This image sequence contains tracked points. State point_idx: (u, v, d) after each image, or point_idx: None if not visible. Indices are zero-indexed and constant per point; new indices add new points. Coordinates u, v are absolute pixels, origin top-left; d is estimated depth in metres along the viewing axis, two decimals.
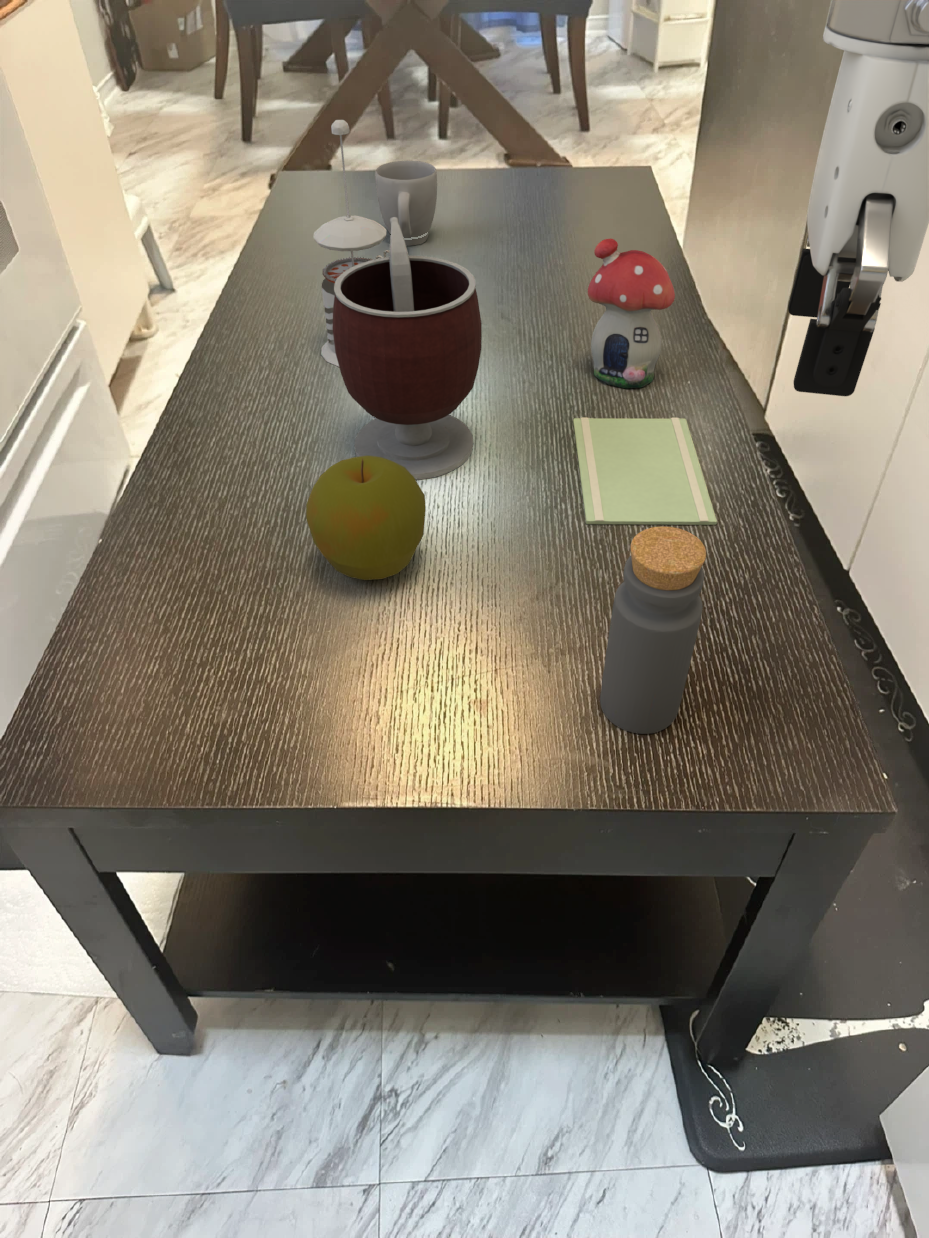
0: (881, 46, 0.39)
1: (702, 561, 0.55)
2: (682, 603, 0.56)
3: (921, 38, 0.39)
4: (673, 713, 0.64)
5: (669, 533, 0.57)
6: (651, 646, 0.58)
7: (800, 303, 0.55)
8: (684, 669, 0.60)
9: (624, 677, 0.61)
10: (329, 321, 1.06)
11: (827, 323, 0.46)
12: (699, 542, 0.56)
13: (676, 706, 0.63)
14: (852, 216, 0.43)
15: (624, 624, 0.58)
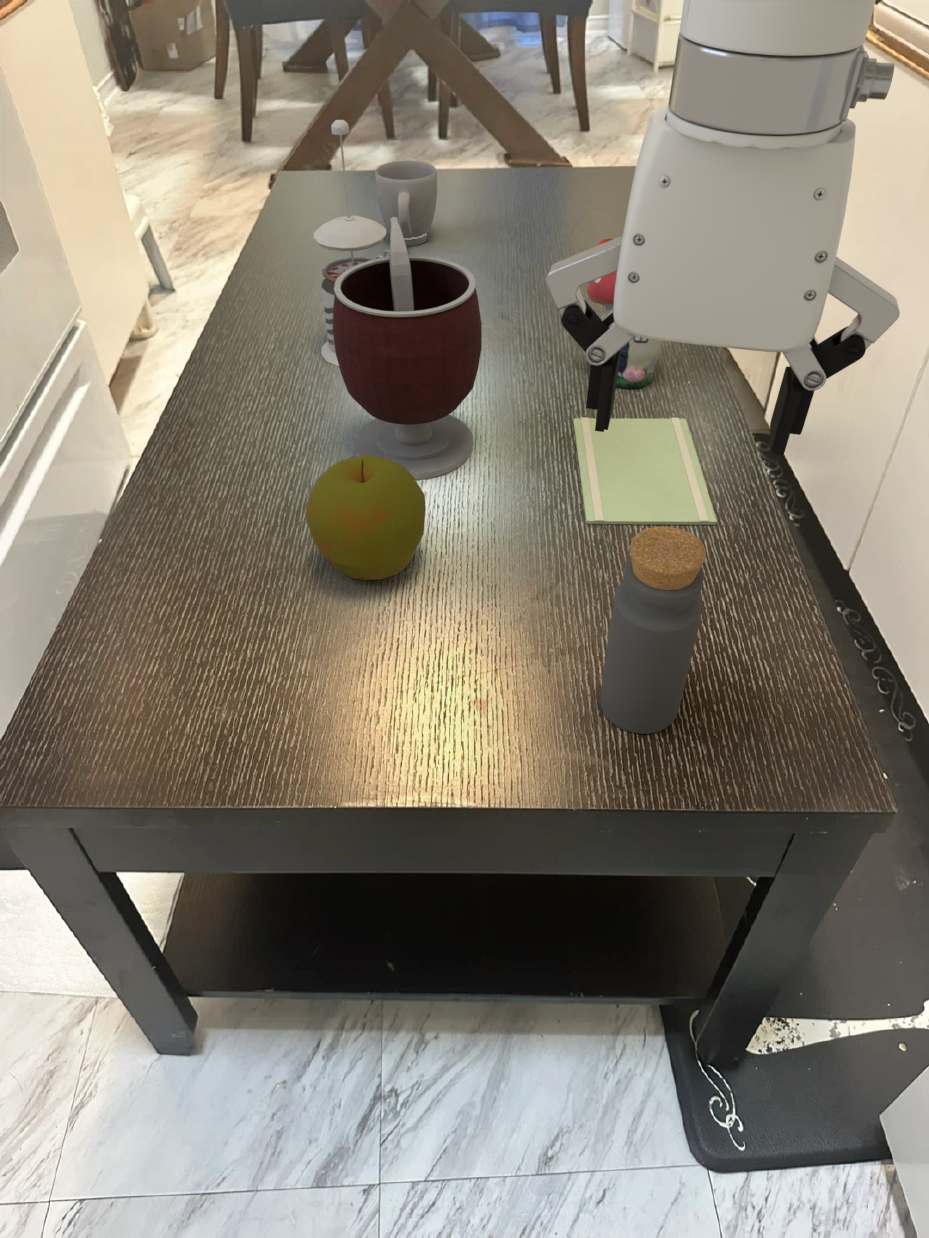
0: (836, 128, 0.37)
1: (702, 561, 0.55)
2: (682, 603, 0.56)
3: None
4: (673, 713, 0.64)
5: (669, 533, 0.57)
6: (651, 646, 0.58)
7: (609, 415, 0.50)
8: (684, 669, 0.60)
9: (623, 677, 0.61)
10: (329, 321, 1.06)
11: None
12: (699, 542, 0.56)
13: (676, 706, 0.63)
14: (829, 283, 0.42)
15: (624, 624, 0.58)
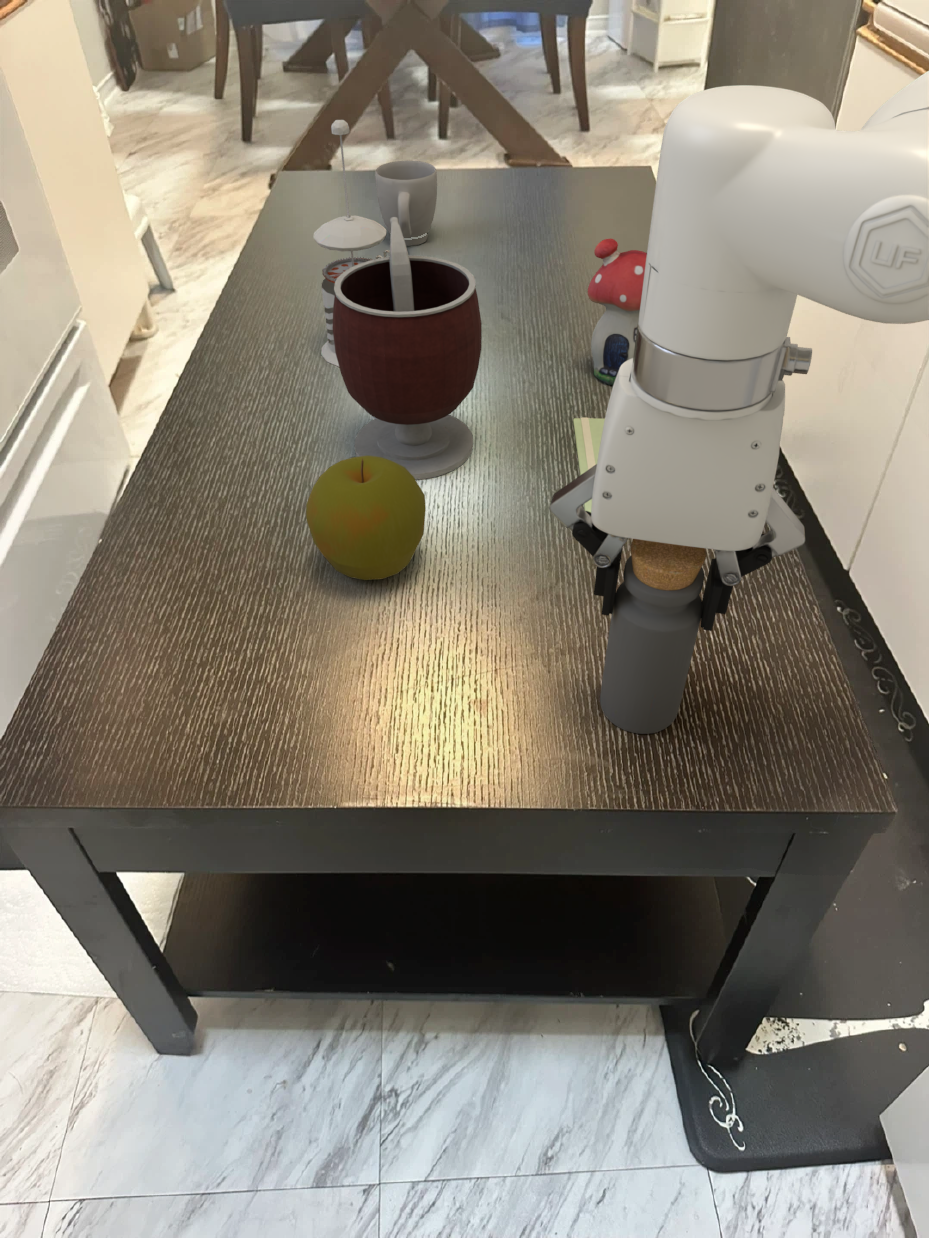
0: (767, 398, 0.46)
1: (702, 561, 0.55)
2: (682, 603, 0.56)
3: None
4: (673, 713, 0.64)
5: None
6: (651, 646, 0.58)
7: None
8: (684, 669, 0.60)
9: (624, 677, 0.61)
10: (329, 321, 1.06)
11: None
12: None
13: (676, 706, 0.63)
14: (769, 502, 0.51)
15: (624, 624, 0.58)
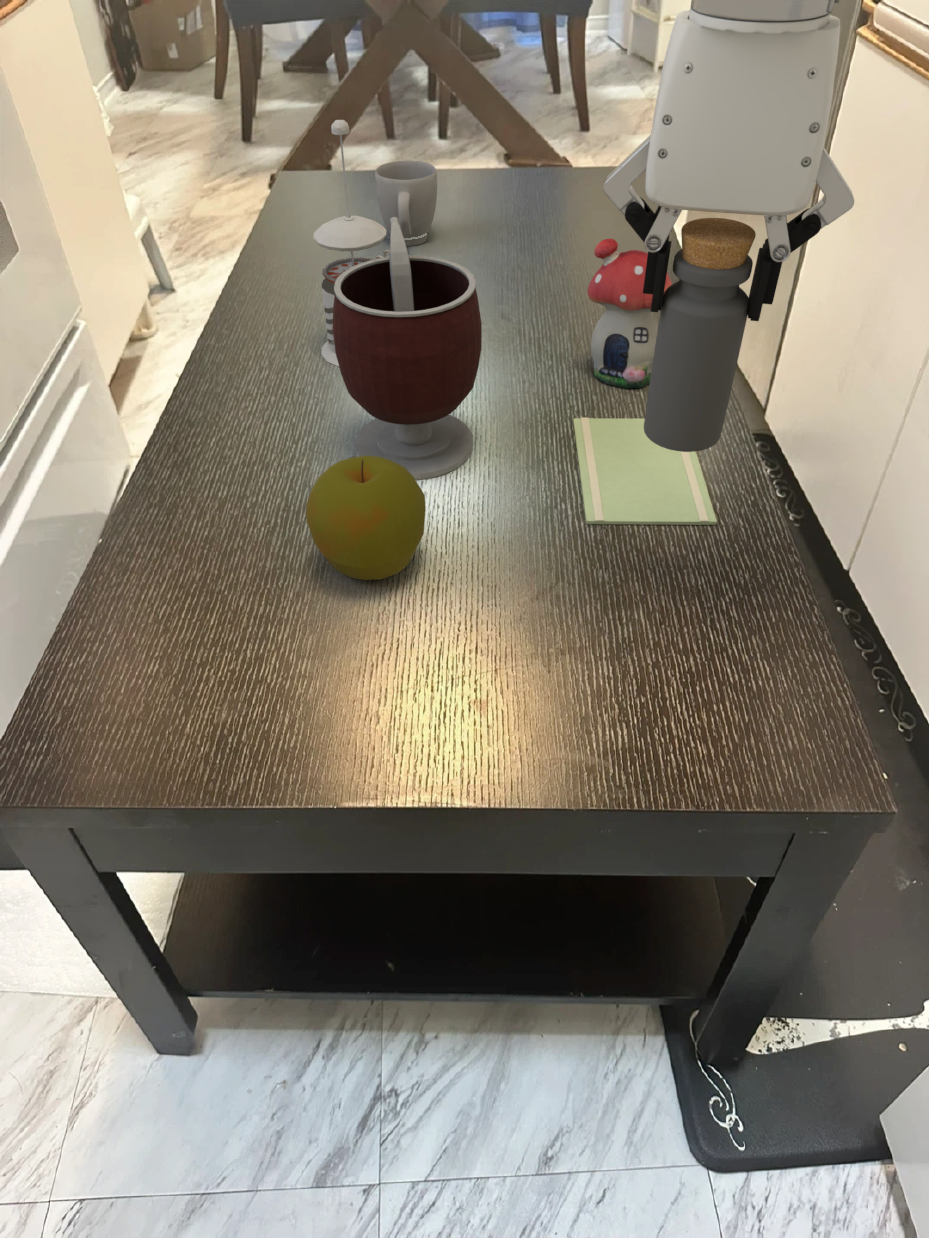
0: (824, 18, 0.47)
1: (752, 238, 0.56)
2: (732, 284, 0.57)
3: None
4: (717, 430, 0.65)
5: (718, 221, 0.58)
6: (700, 337, 0.59)
7: None
8: (730, 372, 0.62)
9: (670, 384, 0.62)
10: (329, 321, 1.06)
11: None
12: (748, 226, 0.58)
13: (720, 422, 0.65)
14: (822, 153, 0.52)
15: (673, 317, 0.59)
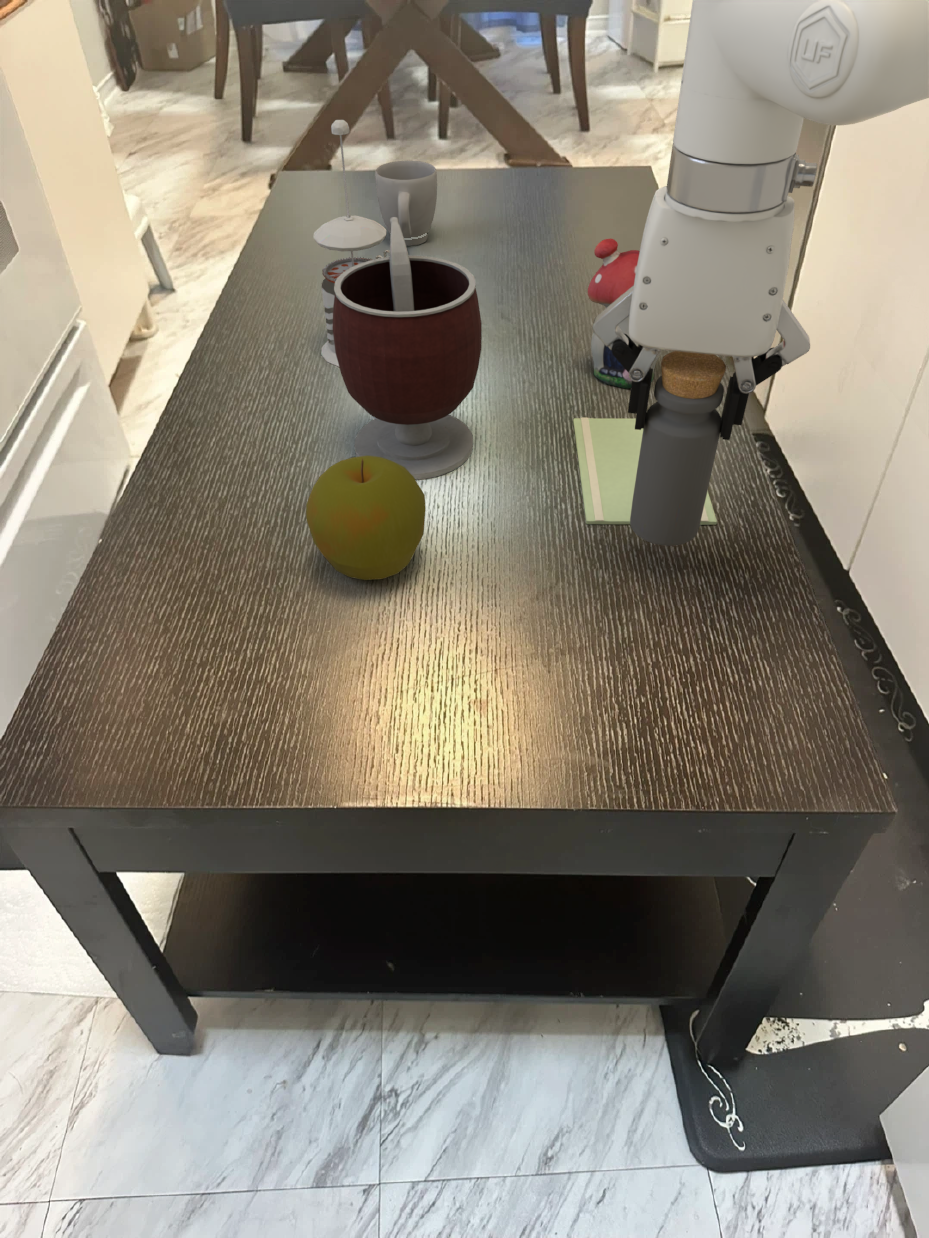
0: (779, 206, 0.55)
1: (723, 372, 0.64)
2: (705, 410, 0.65)
3: None
4: (695, 527, 0.73)
5: (694, 353, 0.66)
6: (677, 454, 0.67)
7: (645, 418, 0.68)
8: (705, 480, 0.70)
9: (653, 489, 0.71)
10: (329, 321, 1.06)
11: None
12: (720, 359, 0.66)
13: (697, 520, 0.73)
14: (781, 309, 0.60)
15: (654, 435, 0.68)
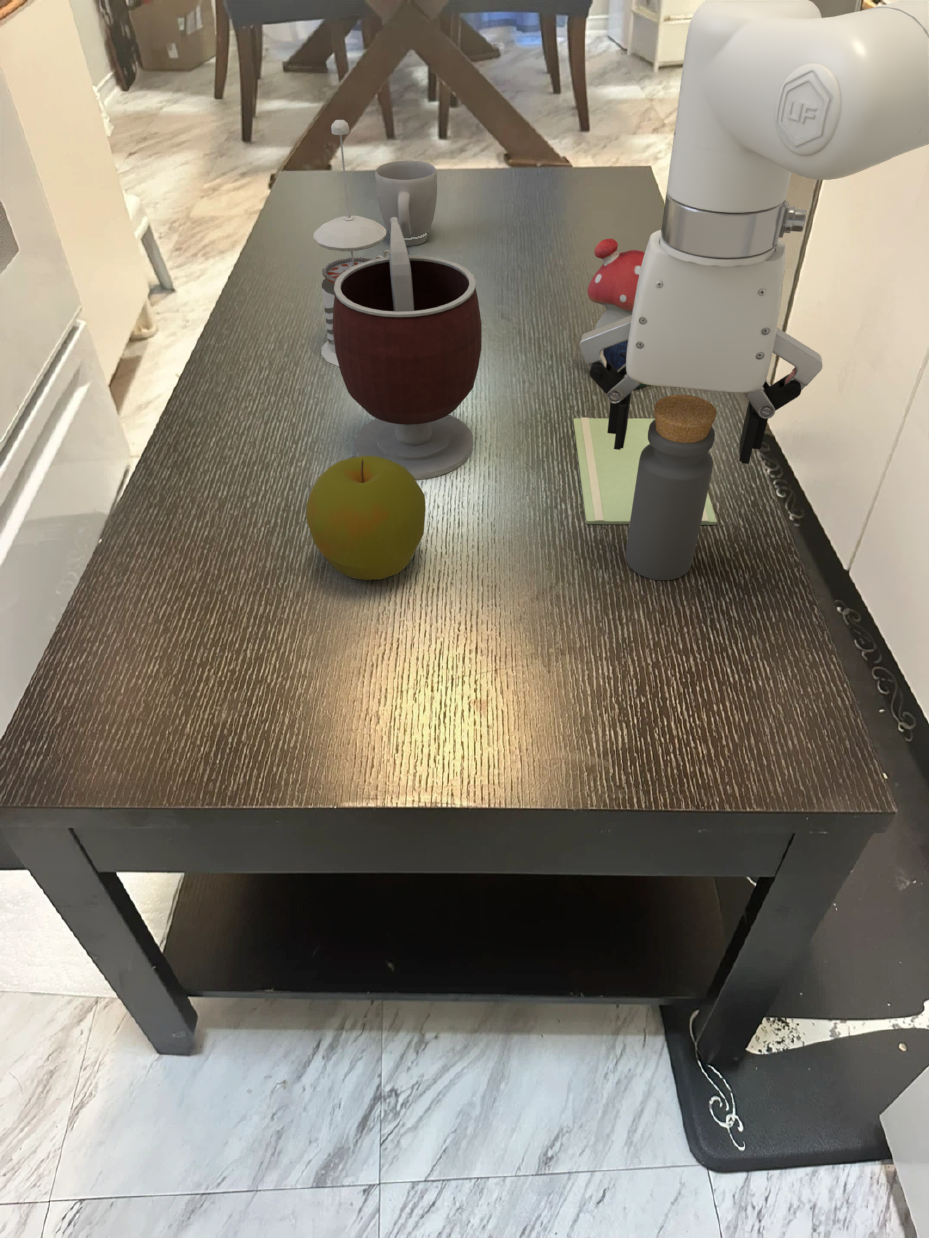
0: (770, 251, 0.57)
1: (713, 418, 0.67)
2: (697, 454, 0.68)
3: None
4: (688, 562, 0.76)
5: (686, 399, 0.69)
6: (670, 495, 0.70)
7: (624, 438, 0.69)
8: (697, 519, 0.73)
9: (647, 527, 0.73)
10: (329, 321, 1.06)
11: None
12: (711, 405, 0.68)
13: (690, 556, 0.75)
14: (773, 347, 0.62)
15: (648, 477, 0.70)
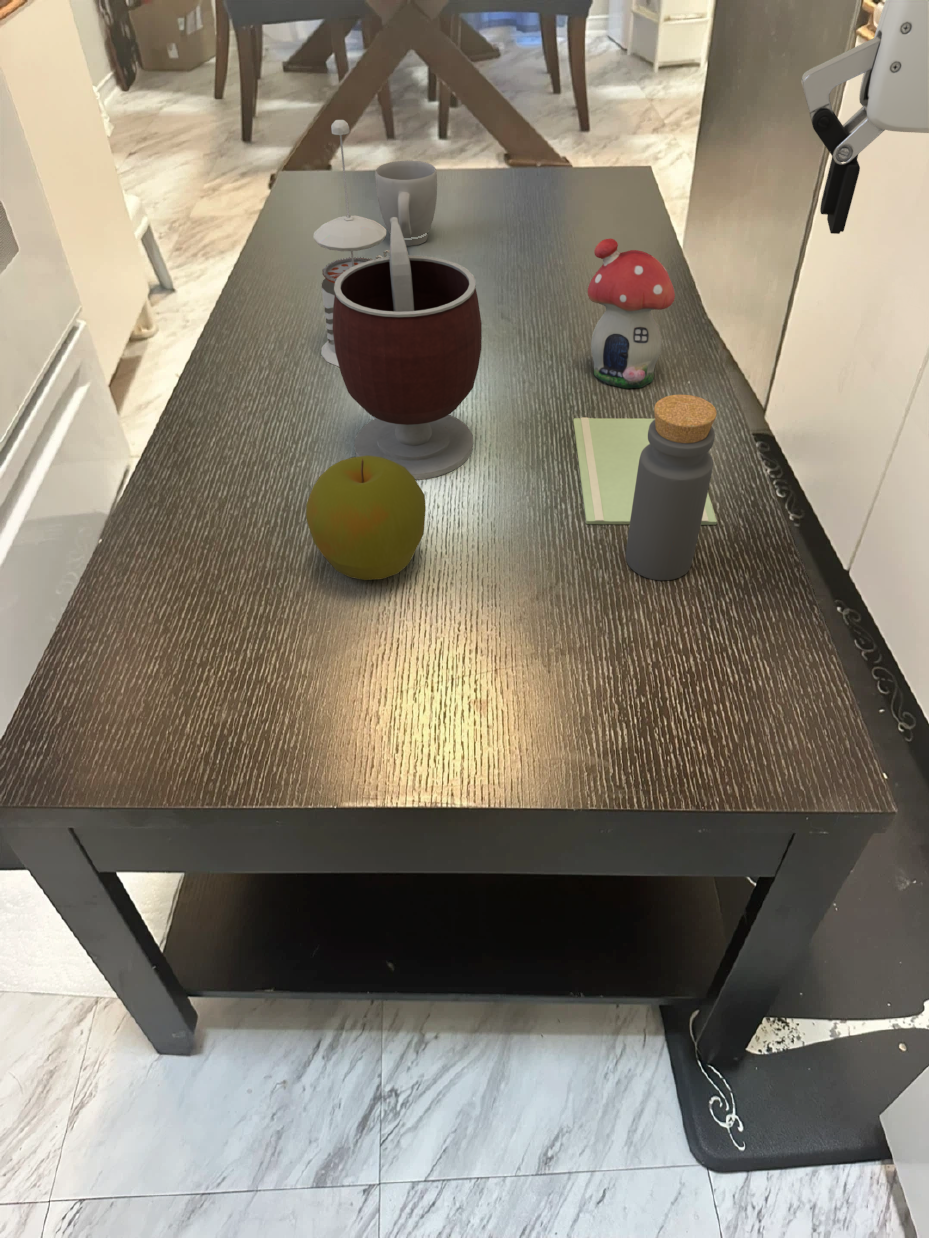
0: None
1: (713, 418, 0.67)
2: (697, 454, 0.68)
3: None
4: (688, 562, 0.76)
5: (686, 399, 0.69)
6: (670, 495, 0.70)
7: None
8: (697, 519, 0.73)
9: (647, 527, 0.73)
10: (329, 321, 1.06)
11: None
12: (710, 405, 0.68)
13: (690, 556, 0.75)
14: None
15: (648, 477, 0.70)
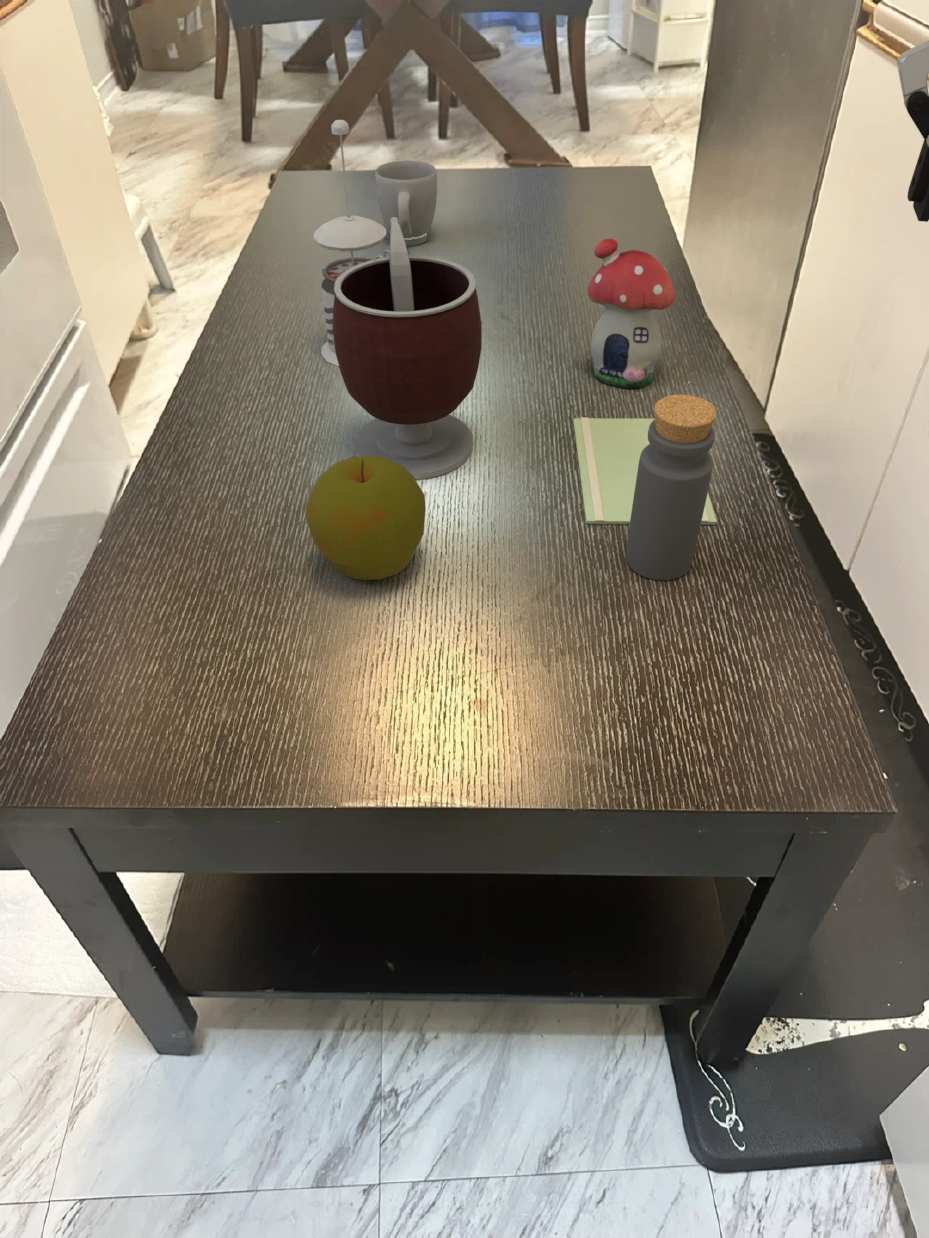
0: None
1: (713, 418, 0.67)
2: (697, 454, 0.68)
3: None
4: (688, 562, 0.76)
5: (686, 399, 0.69)
6: (670, 495, 0.70)
7: None
8: (697, 519, 0.73)
9: (647, 527, 0.73)
10: (329, 321, 1.06)
11: None
12: (711, 405, 0.68)
13: (690, 556, 0.75)
14: None
15: (648, 477, 0.70)
